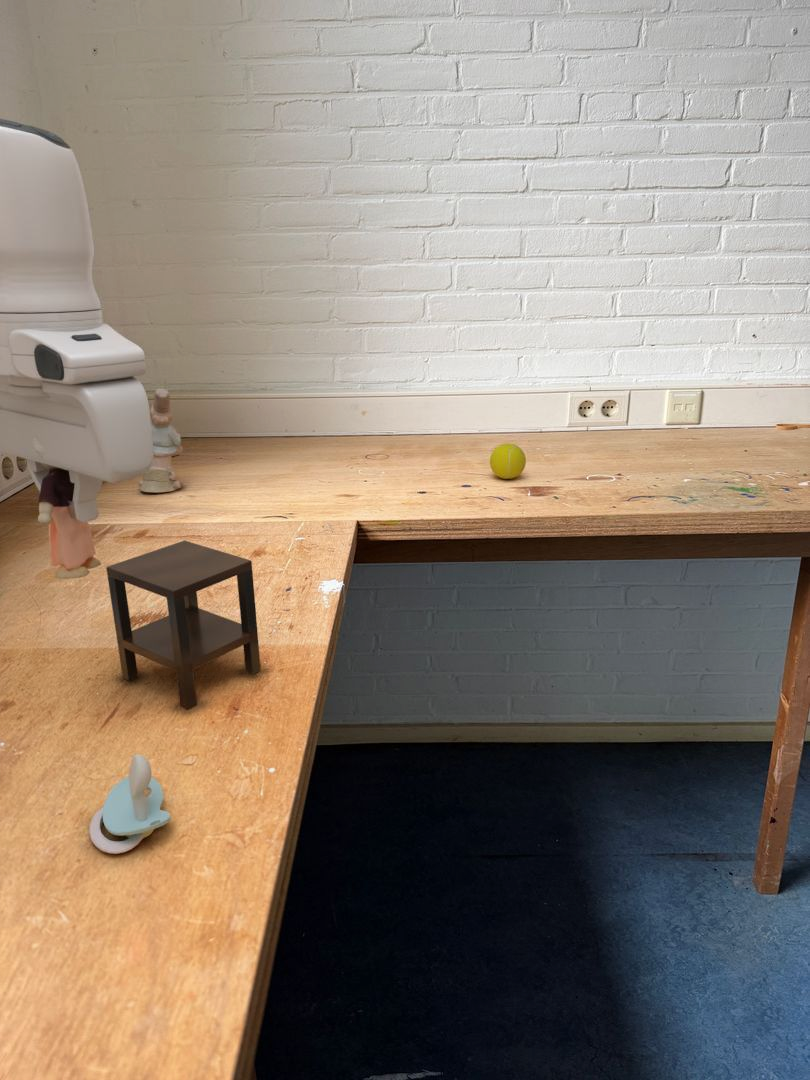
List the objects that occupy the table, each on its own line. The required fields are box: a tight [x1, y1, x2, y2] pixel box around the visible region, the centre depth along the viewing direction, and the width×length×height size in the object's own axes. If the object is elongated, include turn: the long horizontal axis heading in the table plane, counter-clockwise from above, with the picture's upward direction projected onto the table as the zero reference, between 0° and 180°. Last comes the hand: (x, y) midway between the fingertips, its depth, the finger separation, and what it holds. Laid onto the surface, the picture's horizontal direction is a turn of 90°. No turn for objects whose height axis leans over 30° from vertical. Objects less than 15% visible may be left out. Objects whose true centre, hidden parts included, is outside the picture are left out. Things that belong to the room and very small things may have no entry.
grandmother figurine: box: [32, 439, 102, 580], centre depth 67 cm, size 8×4×13 cm, turn 3°
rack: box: [105, 539, 262, 711], centre depth 85 cm, size 11×10×13 cm
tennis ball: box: [489, 443, 527, 480], centre depth 161 cm, size 7×7×7 cm
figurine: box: [138, 387, 184, 494], centre depth 155 cm, size 9×8×20 cm
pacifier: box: [88, 753, 171, 855], centre depth 63 cm, size 7×6×6 cm
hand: (70, 514), depth 68 cm, fingers closed on grandmother figurine, 3 cm apart
